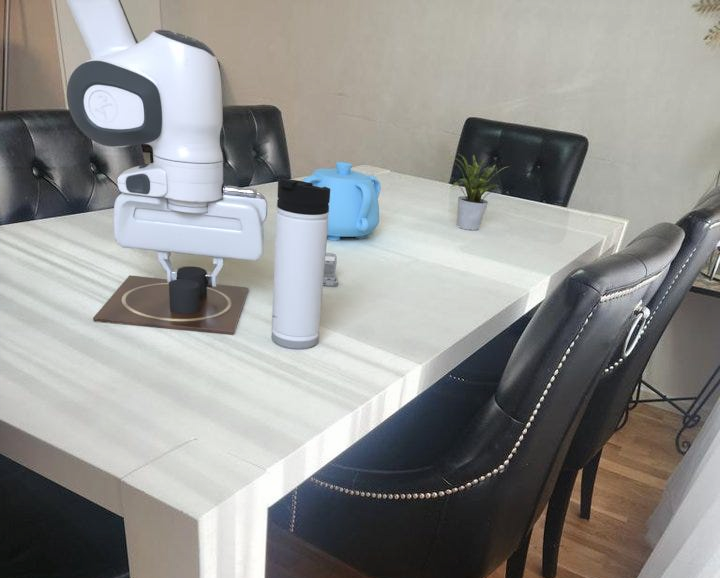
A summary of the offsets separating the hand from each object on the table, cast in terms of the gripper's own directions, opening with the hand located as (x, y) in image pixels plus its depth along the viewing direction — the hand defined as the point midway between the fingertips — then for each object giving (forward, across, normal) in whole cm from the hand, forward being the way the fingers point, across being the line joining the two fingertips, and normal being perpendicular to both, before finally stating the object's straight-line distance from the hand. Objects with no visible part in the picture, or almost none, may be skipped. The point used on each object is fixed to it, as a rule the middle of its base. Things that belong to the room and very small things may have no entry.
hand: (192, 284), depth 94 cm
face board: (+2, +2, +3) cm, 4 cm away
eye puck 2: (+2, 0, +6) cm, 6 cm away
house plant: (+2, -51, -67) cm, 84 cm away
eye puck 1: (+2, 0, 0) cm, 2 cm away
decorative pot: (+2, -21, -47) cm, 52 cm away
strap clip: (+2, -19, -16) cm, 25 cm away
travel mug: (+2, -15, +12) cm, 20 cm away
